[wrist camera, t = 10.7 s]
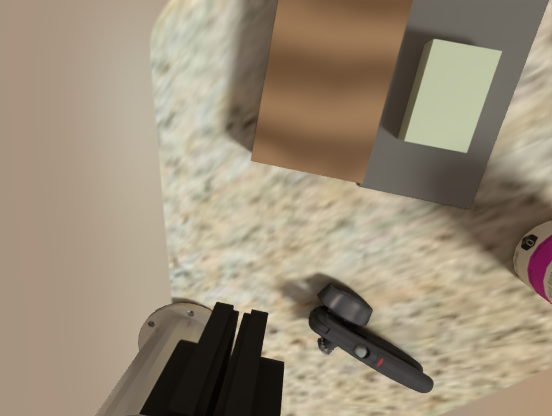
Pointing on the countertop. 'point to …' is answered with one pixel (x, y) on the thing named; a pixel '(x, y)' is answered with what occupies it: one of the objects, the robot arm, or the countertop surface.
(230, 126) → the countertop surface
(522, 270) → the supplement can
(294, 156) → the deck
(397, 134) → the mat
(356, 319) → the can opener
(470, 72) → the pale green flat block
